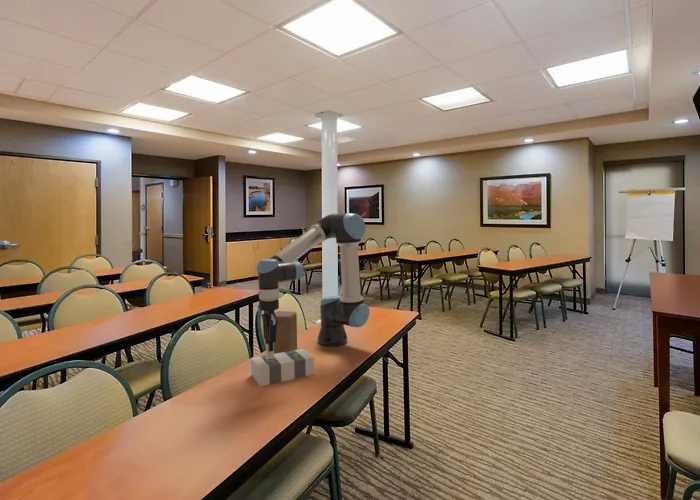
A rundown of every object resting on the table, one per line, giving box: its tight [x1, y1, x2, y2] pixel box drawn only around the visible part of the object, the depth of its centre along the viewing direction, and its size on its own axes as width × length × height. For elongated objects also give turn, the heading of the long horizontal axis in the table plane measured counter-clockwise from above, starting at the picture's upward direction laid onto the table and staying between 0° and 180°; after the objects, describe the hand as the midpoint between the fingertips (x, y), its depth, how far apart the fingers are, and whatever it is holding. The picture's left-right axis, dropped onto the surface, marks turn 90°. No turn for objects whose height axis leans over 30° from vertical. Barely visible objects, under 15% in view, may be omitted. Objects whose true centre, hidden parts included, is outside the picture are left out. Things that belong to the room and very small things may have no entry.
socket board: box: [250, 348, 315, 387], centre depth 153 cm, size 22×12×7 cm, turn 119°
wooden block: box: [274, 310, 298, 354], centre depth 173 cm, size 10×10×20 cm
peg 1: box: [265, 358, 276, 363], centre depth 151 cm, size 4×4×7 cm
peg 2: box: [289, 353, 299, 358], centre depth 156 cm, size 4×4×7 cm
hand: (270, 358), depth 151 cm, fingers closed
